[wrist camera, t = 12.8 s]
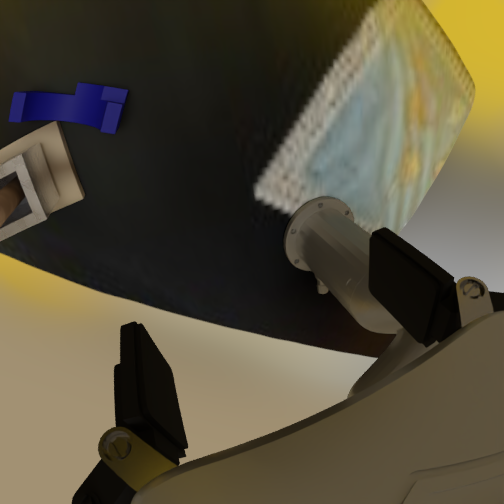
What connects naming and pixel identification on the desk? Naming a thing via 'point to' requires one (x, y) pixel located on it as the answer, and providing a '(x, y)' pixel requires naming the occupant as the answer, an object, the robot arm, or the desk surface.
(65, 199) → the post board
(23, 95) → the cable clip
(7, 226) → the sleeve
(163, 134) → the desk surface
